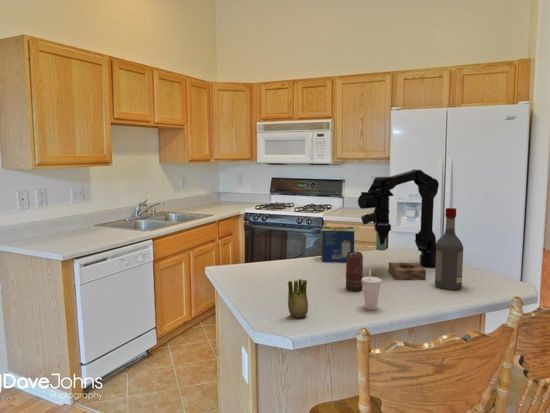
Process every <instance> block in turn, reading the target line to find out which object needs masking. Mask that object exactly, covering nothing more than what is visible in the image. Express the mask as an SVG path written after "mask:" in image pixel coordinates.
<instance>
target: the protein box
mask: <svg viewBox="0 0 550 413" xmlns="http://www.w3.org/2000/svg"><path fill="white" fill-rule="evenodd" d="M354 228H355V227H354V226H322V227H321V262H322V263H335V262H336V263H339V264H340V263H341V264H342V263H344V264H346V255H347V253H348V252H355V229H354ZM336 263H335V264H336Z"/></svg>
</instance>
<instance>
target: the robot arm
mask: <svg viewBox="0 0 550 413" xmlns="http://www.w3.org/2000/svg"><path fill="white" fill-rule="evenodd" d="M412 181H413V184H415V185H416V186H417V190H418V193H419V195H420V197H421V206H420V207H421V211H420V230H419V232H418V233H415V236H414V237H415V240H414V242H415V245H416V247H417V250H418V252H420V254H419V261H418V264H419V265H420V266H421V267H423V268H435V267H436V243H437V238H436V235H435V233H434V231H433V222H434V203H435V202H434V201H435V197H436V196H437V194H438V191H439V186H440V185H439V183H440V182H439V180H437V179H436V178H433V177H432V176H431V175H428V173H425V172H424V171H423V170H422V169H411V170H408V171H405V172H402V173H398V174H395V175H391V176H377V177H375V178H374V179H373V181H372V183H371V185H370V186H369V189H368V190H367V191H362V192H360V195H359V197H358V199H357V204H358V207H359V208H360V209H362V210H363V209H373V208H374V209H373V212H370V213H366V214H364V215H362V216H360V219H361V221H362V224H363V226H364V225H368V224H369V223H372V224H373V227H374V231H376V233H377V232H378V234H379V240H380V245H383V244H384V242H385V239H386V240H387V237H388V235H389V233H390V231H392V225H391V223H390V197H394V193H392V191H391V190H393V189H395V188H396V186H398V185H401V184H405V183H409V182H412Z"/></svg>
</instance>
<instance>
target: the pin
mask: <svg viewBox="0 0 550 413" xmlns="http://www.w3.org/2000/svg"><path fill="white" fill-rule="evenodd" d="M375 237H376V239H375V240H376V241H375V242H376V248H375V249H376V251H380V252H381V251H387V238H386V239H385V242H384V244H383V245H380V240H379V234H378V232H377V231H376V236H375Z"/></svg>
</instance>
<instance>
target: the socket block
mask: <svg viewBox="0 0 550 413" xmlns="http://www.w3.org/2000/svg"><path fill="white" fill-rule="evenodd" d="M426 272H427V270H426V269H425V267H423V266H422V265H420V264H419V262H388V273H389V274H390V275H391V277H392V278H393V280H395V281H426V274H427V273H426Z"/></svg>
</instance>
